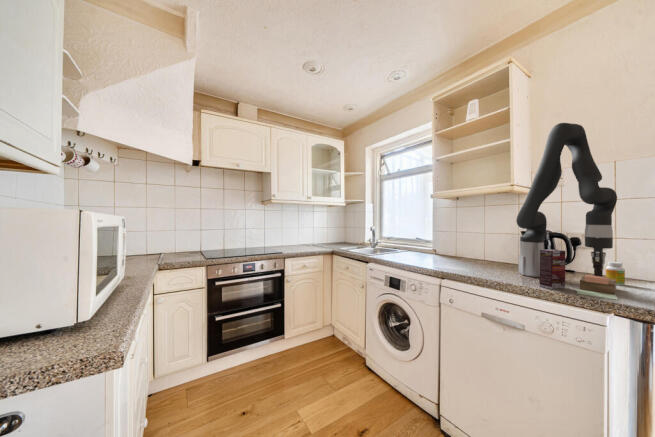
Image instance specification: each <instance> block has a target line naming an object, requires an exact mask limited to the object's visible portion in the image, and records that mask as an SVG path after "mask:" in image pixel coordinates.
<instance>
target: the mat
mask: <svg viewBox="0 0 655 437" xmlns="http://www.w3.org/2000/svg"><path fill="white" fill-rule="evenodd" d="M576 290H577V291H576V294H577V295H583V296H589V297H597V298H601V299H602V298H603V299H607V300H615V301H618V300H619V299H618V296H617V295H616V294H615V295H611V294H605V293H598V292H592V291H585V290H580V288H579V289H576Z"/></svg>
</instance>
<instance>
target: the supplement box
mask: <svg viewBox="0 0 655 437" xmlns="http://www.w3.org/2000/svg"><path fill="white" fill-rule="evenodd" d="M566 251H567V250H564V249H557V248H556V249H553V248H551V249H544V250H540V277H539V280H538V281H539V284H538V286H539V287H541V288H544V287H545V288H546V289H548V290H549V289H550V290H555V289H565V288H566Z"/></svg>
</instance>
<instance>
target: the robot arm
mask: <svg viewBox="0 0 655 437" xmlns="http://www.w3.org/2000/svg"><path fill="white" fill-rule="evenodd" d="M588 142H589V141H588V138H587V134H586V130H585V128H584V127H583V125H581V124H577V123H572V122H571V123H568V122H560V123H557V124H555V125H554V126H553V127H552V128H551V129H550V131H549V132H548V135H547V138H546V143H545V146H544V150H543V154H542V157H541V160H540V163H539V166H538V167H537V170H536V173H535V175H534V178H533V180H532V183H531V186H530V189H529V191H528V193H527V196H526V198H525V199H524V203H523V204H522V206H521V208H520V210H519V211H518V213H517V215H516V218H515V219H516V221H515V222H516V224H517V226H518V227H519V228H520V229H523V230H524V229H525V231H526V232H525V233H524V234H522V235H521V236H520V238H519V239H520V240H519V255H518V274H520V275H522V276H526V277H527V276H528V277H535V278H536V277H537V278H540V250H545V249H544V246H545V245H544V244H545V242H544V240H545V238H546V236H547V224H548V223H547V222H548V221H547V217H546V215H545V213H543V212H542V211H539V209H540V207H541V205H542V204H543V203H544V201H545V200H546V199H547V198H548V197H550V195H551V194H552V193H553V192H555V190H556V189H557V187H558V185H559V182H560V180H561V177H562V174H563V172H562V171H563V170H562V162H561V155H562V152H563V149H564V147H565V146H566V147H567V148H568V150H569V151H570V153H571V157H572V159H571V170H572V173H573V174H574V177H575V179H576V181H577V182H578V184H577V185H578V187H577V188H578V193H579V198H580V199H581V201H582V202H583V203H585V204H587V205H593V207H592V209H591V210H589V211H586V213H585V226H584V227H585V228H584V246H585V247H586V248H591V249H593V251H591V252H590V257H591V263H592V269H593V275H594V276H601V277H604V276H603V274H604V273H603V270H604V266H605V264H606V257H607V252H604V250H605V249H610V250H611V249H613V247H614V244H613V243H614V238H613V237H614V230H613V226H612V225H613V224H612V222H613V220H612V219H613V218H612V217H613V213H614V210H615V207H616V205H617V201H618V196H617V192H616V191H615V190H614V189H613V188H610V187H602V186H601V187H600V185H599V182H601V181H602V180H603V175H602V173H601V171H600V169H599V168H598V166H597V164H596V162H595V160H594V157H593V155H592V153H591V149H590V145H589V143H588Z"/></svg>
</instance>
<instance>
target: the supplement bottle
mask: <svg viewBox="0 0 655 437" xmlns="http://www.w3.org/2000/svg"><path fill="white" fill-rule="evenodd" d="M607 262H608V264H607V266H606V268H605V277H609V279H616V286H625V285H626V281H625V280H626V275H625V274H626V272H625V268H624V267H623V263H622V262H619V261H618V262H617V261H607Z"/></svg>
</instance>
